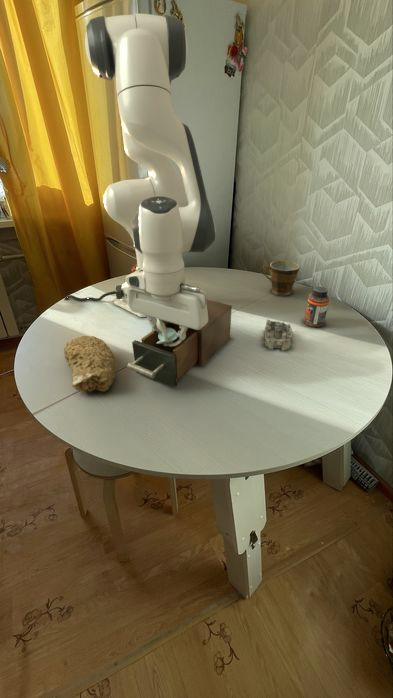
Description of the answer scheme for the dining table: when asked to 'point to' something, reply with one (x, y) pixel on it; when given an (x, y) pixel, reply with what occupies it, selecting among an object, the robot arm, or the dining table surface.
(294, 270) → the ceramic cup
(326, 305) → the supplement bottle
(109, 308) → the dining table surface
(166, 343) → the pacifier
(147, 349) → the drawer
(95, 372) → the sponge
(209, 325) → the cabinet
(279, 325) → the egg carton
